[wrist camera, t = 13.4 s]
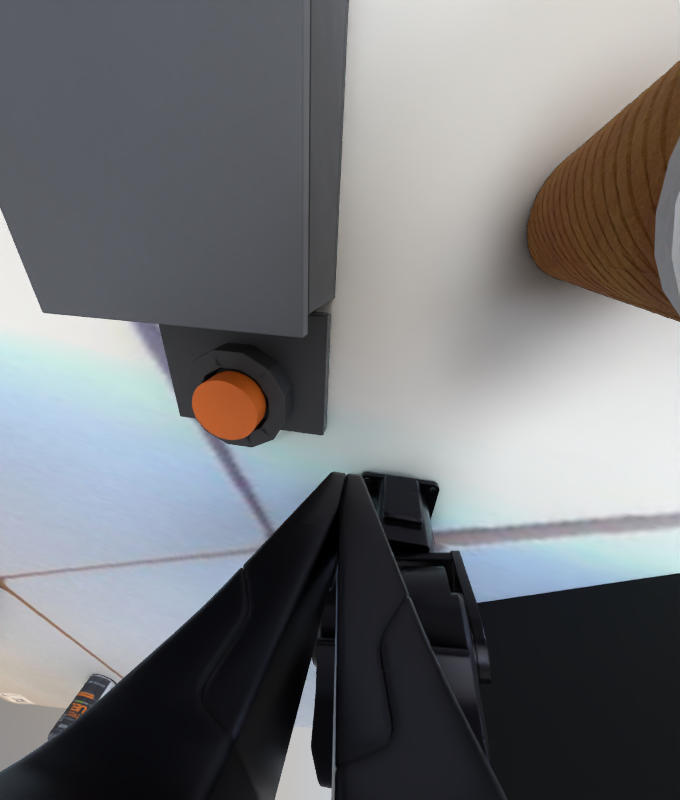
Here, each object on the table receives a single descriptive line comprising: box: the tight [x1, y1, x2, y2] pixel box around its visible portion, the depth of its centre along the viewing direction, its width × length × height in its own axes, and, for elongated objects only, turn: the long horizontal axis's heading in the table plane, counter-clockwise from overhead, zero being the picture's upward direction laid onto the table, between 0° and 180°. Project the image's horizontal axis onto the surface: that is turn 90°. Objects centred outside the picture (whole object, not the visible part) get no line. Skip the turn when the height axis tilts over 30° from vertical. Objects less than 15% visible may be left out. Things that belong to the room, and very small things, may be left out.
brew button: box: [192, 371, 266, 440], centre depth 18 cm, size 4×4×2 cm
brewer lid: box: [0, 0, 310, 338], centre depth 9 cm, size 14×12×1 cm
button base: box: [159, 312, 331, 447], centre depth 20 cm, size 10×12×3 cm
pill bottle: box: [48, 675, 116, 741], centre depth 54 cm, size 6×6×11 cm
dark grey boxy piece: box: [308, 0, 349, 314], centre depth 13 cm, size 13×12×7 cm
